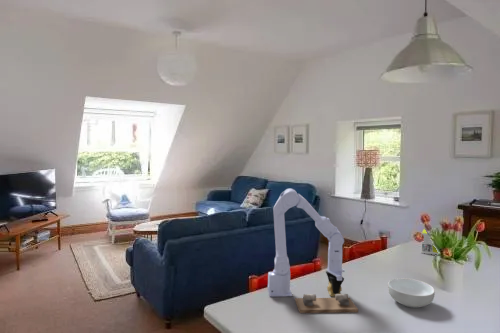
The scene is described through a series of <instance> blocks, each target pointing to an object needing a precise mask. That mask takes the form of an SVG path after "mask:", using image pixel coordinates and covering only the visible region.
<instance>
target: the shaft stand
mask: <svg viewBox="0 0 500 333" xmlns="http://www.w3.org/2000/svg"><path fill="white" fill-rule="evenodd" d="M294 300H295V305H296V307H297V309H298V313H299V314H314V313H315V314H317V313H318V314H319V313H320V314H323V313H325V314H327V313H328V314H329V313H331V314H332V313H334V314H335V313H358V312H359V308H358V307H357V305H356V304H355V303H354V302H353V300H352V299H351V298H350V297H349V294H348V293H340V294H335V296H334V297H317V295H316V294H315V293H314V294H312V293H310V294H308V293H306V294H305V293H304V294H303V296H302V297H295V299H294Z"/></svg>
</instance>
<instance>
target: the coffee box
mask: <svg viewBox="0 0 500 333" xmlns="http://www.w3.org/2000/svg"><path fill="white" fill-rule="evenodd" d="M425 229H426V228H423V229H422V231H421V235H422V234H423V235H424V242H420V244H421V245H420V254H424V253H425V254H424V255H431V254H432V256H436V255H435V254H438V252H437V250H436V248H435V247H434V246H433V245H431V244H429V243H432V241H431V240H430V238H429V236H428V235H427V232H426V230H425Z"/></svg>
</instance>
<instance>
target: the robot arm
mask: <svg viewBox="0 0 500 333" xmlns="http://www.w3.org/2000/svg"><path fill="white" fill-rule="evenodd" d="M295 206H296V208H297V209H302V210H303V211H305V213H306V214H307V215H308V216H309V217H310V218H311V219H312V220H313V221H314V225H315V226H314V227H316V229H317V230H318V231H319V232H320V233H321V234H322V235H323V236H324V237H325V238H327V241H328V250H327V270H325V274H326V276H327V279H328V282H329V281H331V283H332V289H333V293H334V294H338V293H339V290H340V287H341V288H342V284H343V282H344V281H345V278H344V277H343V273H345V269H344V268H343V245H344V244H345V239H344V236H343V234H342V232H340V230H339V229H338V226H335V225H334V224H333V223H332V222H331V219H330V218H329V217H326V216H321V215H320V214H319V213H318V211H317V210H316V209H315V208H314V207H313V206H312V205H311V204H310V202H309V201H308V200H307V199H306V198H305V197H303V195H301V194H300V193H299V192H298V193H297V191H296V190H295V189H294V188H286V189H285V190H284V191H282V192H281V193H280V195H279V197H278V199H277V200H276V202H275V204H274V206H273V208H272V210H273V227H274V229H273V230H274V240H275V241H274V242H275V257H274V259H273V260H274V268H273V270H272V271H268V273H267V292H268V295H269V297H293V294H292V291H291V270H290V269H291V265H290V259H289V257H288V254H287V253H288V252H287V237H286V236H287V235H286V221H285V213H286V212H287V211H288V210H289V209H291V208H293V207H295Z"/></svg>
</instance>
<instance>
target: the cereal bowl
mask: <svg viewBox="0 0 500 333" xmlns="http://www.w3.org/2000/svg"><path fill="white" fill-rule="evenodd" d="M387 290H388V293H389V296H390V297H391V298H392V299H394V301H396V302H397V303H399V304H401V306H402V305H403V306H405V307H407V308H412V309H413V308H414V309H415V308H421V307H426V306H428V305H430V304H431V303H432V302H433V301H434V298H435V293H436V292H435V288H434V287H433V286H432V285H430V284H429V283H427V282H425V281H422V280H418V279H414V278H406V277H405V278H403V277H402V278H401V277H400V278H399V277H397V278H394V279H390V280H389V281H388V282H387Z"/></svg>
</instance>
